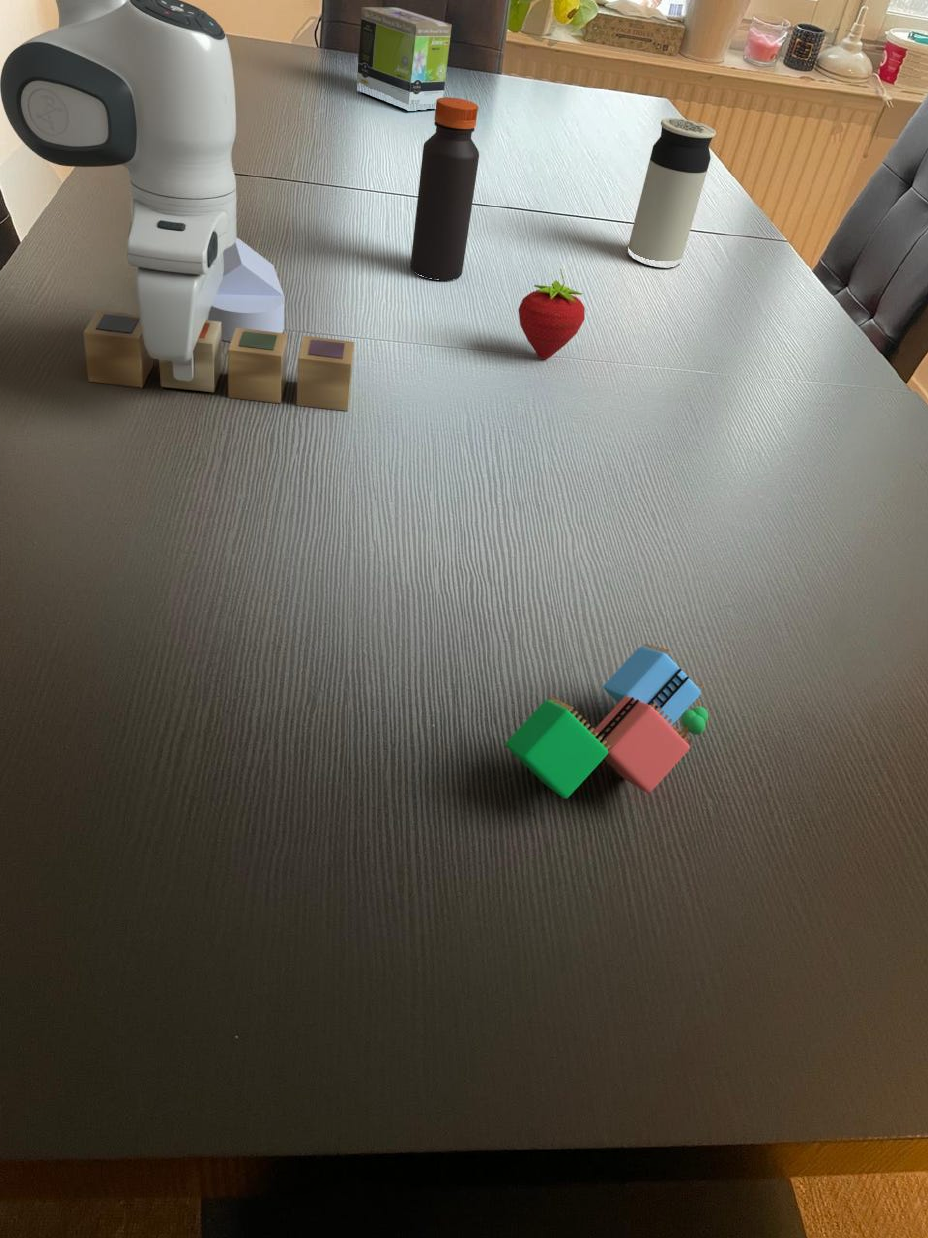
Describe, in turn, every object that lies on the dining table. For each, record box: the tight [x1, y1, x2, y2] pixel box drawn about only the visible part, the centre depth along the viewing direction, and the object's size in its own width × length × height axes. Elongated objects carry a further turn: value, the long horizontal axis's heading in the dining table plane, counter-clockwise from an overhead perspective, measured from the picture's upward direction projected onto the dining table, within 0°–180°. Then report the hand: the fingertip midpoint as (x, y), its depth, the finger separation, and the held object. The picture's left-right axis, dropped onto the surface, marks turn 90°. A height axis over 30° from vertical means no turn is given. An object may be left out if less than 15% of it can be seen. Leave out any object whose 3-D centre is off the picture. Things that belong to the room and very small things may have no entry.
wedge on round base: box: [208, 237, 286, 343], centre depth 107 cm, size 9×7×13 cm
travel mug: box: [627, 117, 717, 261], centre depth 138 cm, size 8×8×18 cm
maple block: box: [158, 320, 223, 393], centre depth 95 cm, size 5×5×5 cm
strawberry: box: [518, 268, 586, 360], centre depth 109 cm, size 6×8×10 cm
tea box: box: [356, 6, 453, 105], centre depth 188 cm, size 15×10×15 cm
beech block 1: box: [83, 310, 154, 388], centre depth 94 cm, size 5×5×5 cm
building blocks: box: [505, 643, 709, 800], centre depth 64 cm, size 8×8×12 cm
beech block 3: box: [295, 335, 355, 412], centre depth 96 cm, size 5×5×5 cm
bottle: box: [410, 96, 480, 281], centre depth 121 cm, size 7×7×20 cm
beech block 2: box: [227, 328, 288, 404], centre depth 95 cm, size 5×5×5 cm
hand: (190, 362), depth 95 cm, fingers closed on maple block, 5 cm apart
